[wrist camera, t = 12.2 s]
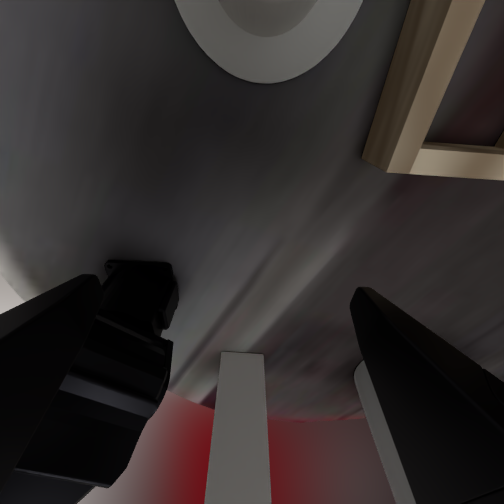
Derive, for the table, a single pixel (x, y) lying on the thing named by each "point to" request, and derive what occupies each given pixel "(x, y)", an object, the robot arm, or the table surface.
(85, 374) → the robot arm
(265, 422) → the milk
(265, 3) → the jug
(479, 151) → the stand
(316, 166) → the table surface
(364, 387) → the utensil holder
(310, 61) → the mat
